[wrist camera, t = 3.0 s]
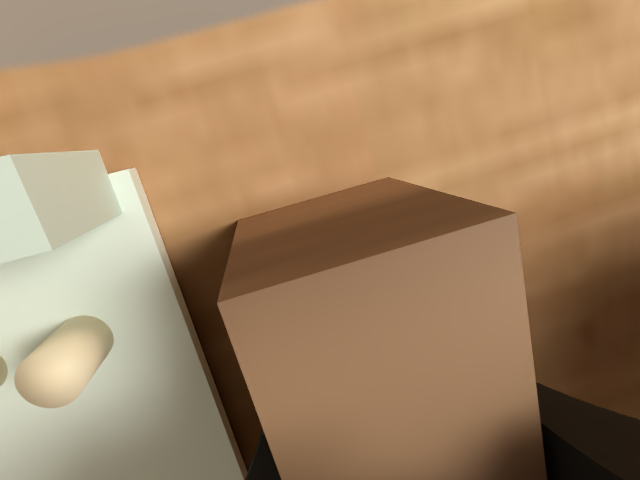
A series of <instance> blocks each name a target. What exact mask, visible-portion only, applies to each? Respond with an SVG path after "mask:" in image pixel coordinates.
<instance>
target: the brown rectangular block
mask: <svg viewBox="0 0 640 480" xmlns="http://www.w3.org/2000/svg"><path fill="white" fill-rule="evenodd" d="M217 305H218V308H219V310H220V313H221V316H222V319H223V321H224V324H225V327H226V329H227V332H228V335H229V338H230V340H231V343H232V346H233V349H234V351H235V354H236V357H237V360H238V362H239V365H240V368H241V370H242V373H243V376H244V379H245V381H246V384H247V387H248V390H249V392H250V395H251V398H252V401H253V403H254V406H255V409H256V412H257V414H258V417H259V420H260V422H261V425H262V428H263V431H264V433H265V436H266V439H267V442H268V444H269V447H270V450H271V453H272V455H273V458H274V461H275V463H276V466H277V469H278V472H279V474H280V477H281V480H547V473H546V465H545V456H544V447H543V439H542V430H541V422H540V413H539V404H538V396H537V387H536V379H535V370H534V361H533V353H532V344H531V336H530V327H529V318H528V310H527V301H526V293H525V284H524V275H523V267H522V258H521V249H520V241H519V232H518V224H517V215H516V213H515V212H511V211H507V210H504V209H500V208H497V207H493V206H490V205H486V204H482V203H479V202H475V201H472V200H468V199H464V198H461V197H457V196H454V195H450V194H447V193H443V192H439V191H436V190H432V189H429V188H425V187H421V186H418V185H414V184H411V183H407V182H404V181H400V180H396V179H393V178H389V177H388V178H384V179H381V180H377V181H374V182H370V183H367V184H363V185H360V186H356V187H353V188H349V189H346V190H342V191H339V192H335V193H332V194H328V195H325V196H321V197H318V198H314V199H311V200H307V201H304V202H300V203H297V204H293V205H290V206H286V207H283V208H279V209H275V210H272V211H268V212H265V213H261V214H258V215H254V216H251V217H247V218H244V219H240V220H238V223H237V227H236V230H235V234H234V238H233V242H232V246H231V250H230V254H229V258H228V262H227V265H226V269H225V273H224V277H223V281H222V285H221V289H220V293H219V296H218V300H217Z"/></svg>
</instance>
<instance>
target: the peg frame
mask: <svg viewBox="0 0 640 480" xmlns="http://www.w3.org/2000/svg"><path fill="white" fill-rule="evenodd" d="M246 475H247V470H246V467H245V464H244V462H243V459H242V456H241V453H240V451H239V448H238V445H237V442H236V440H235V437H234V434H233V432H232V429H231V426H230V423H229V421H228V418H227V415H226V412H225V410H224V407H223V404H222V402H221V399H220V396H219V393H218V391H217V388H216V385H215V383H214V380H213V377H212V374H211V372H210V369H209V366H208V363H207V361H206V358H205V355H204V353H203V350H202V347H201V344H200V342H199V339H198V336H197V333H196V331H195V328H194V325H193V323H192V320H191V317H190V314H189V312H188V309H187V306H186V303H185V301H184V298H183V295H182V293H181V290H180V287H179V284H178V282H177V279H176V276H175V273H174V271H173V268H172V265H171V263H170V260H169V257H168V254H167V252H166V249H165V246H164V244H163V241H162V238H161V235H160V233H159V230H158V227H157V224H156V222H155V219H154V216H153V214H152V211H151V208H150V205H149V203H148V200H147V197H146V194H145V192H144V189H143V186H142V184H141V181H140V178H139V175H138V173H137V170H136V168H131V169H127V170H123V171H119V172H115V173H111V174H108V173H107V171H106V168H105V166H104V163H103V160H102V158H101V155H100V153H99V150H86V151H67V152H49V153H30V154H11V155H6V156H1V157H0V480H245V477H246Z"/></svg>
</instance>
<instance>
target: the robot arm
mask: <svg viewBox="0 0 640 480" xmlns="http://www.w3.org/2000/svg"><path fill="white" fill-rule="evenodd" d="M536 387H537V396H538V404H539V413H540V422H541V430H542V439H543V447H544V456H545V465H546V473H547V480H640V420H639V419H635V418H632V417H628V416H625V415H622V414H619V413H616V412H613V411H610V410H607V409H604V408H601V407H598V406H595V405H592V404H589V403H586V402H584V401H581V400H578V399H576V398H573V397H571V396H568V395H566V394H563V393H561V392H558V391H556V390H553V389H551V388H548V387H546V386H544V385H541V384H539V383H537V382H536ZM245 480H281V477H280V474H279V472H278V469H277V466H276V463H275V461H274V458H273V455H272V453H271V450H270V447H269V444H268V442H267V439H266V436H265V433H264V431H263V428H262V431H261V435H260V438H259V441H258V444H257V447H256V450H255V453H254V456H253V459H252V461H251V464H250V467H249V469H248V472H247V475H246V477H245Z"/></svg>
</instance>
